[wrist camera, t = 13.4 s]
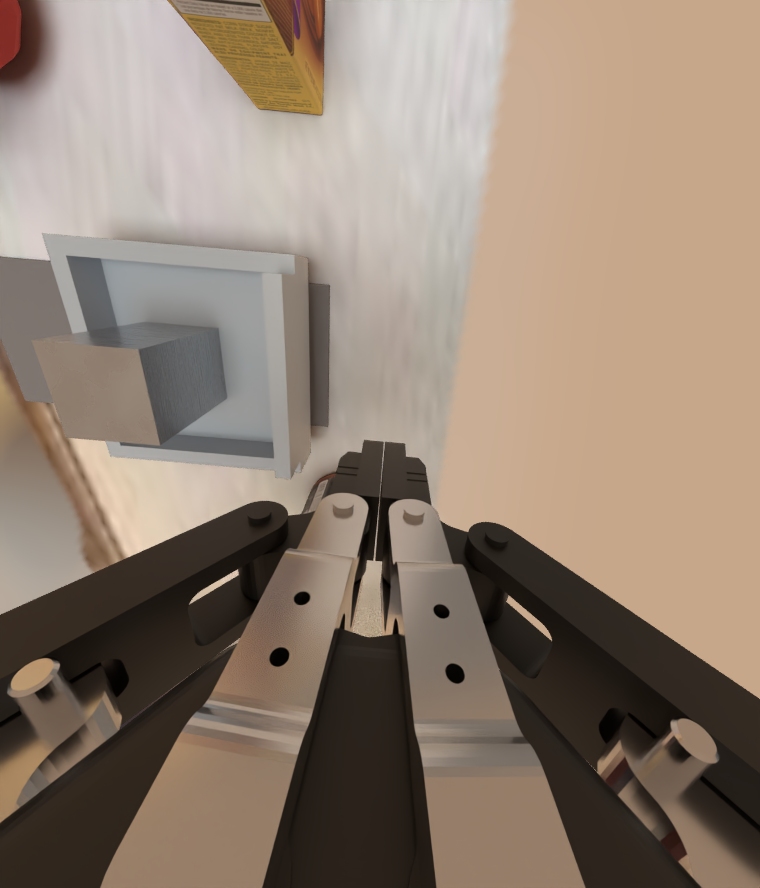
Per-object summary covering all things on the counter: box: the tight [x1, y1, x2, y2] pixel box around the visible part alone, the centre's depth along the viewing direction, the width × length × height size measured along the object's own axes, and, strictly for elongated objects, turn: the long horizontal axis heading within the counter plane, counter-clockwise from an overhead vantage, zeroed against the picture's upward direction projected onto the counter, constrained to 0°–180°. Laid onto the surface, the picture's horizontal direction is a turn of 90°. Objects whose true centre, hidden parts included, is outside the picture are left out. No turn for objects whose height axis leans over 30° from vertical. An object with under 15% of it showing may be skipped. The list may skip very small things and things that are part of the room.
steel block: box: [31, 322, 227, 446], centre depth 20 cm, size 5×5×8 cm
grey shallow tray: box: [42, 233, 311, 479], centre depth 23 cm, size 14×14×8 cm
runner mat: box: [0, 257, 330, 427], centre depth 27 cm, size 11×26×1 cm, turn 86°
